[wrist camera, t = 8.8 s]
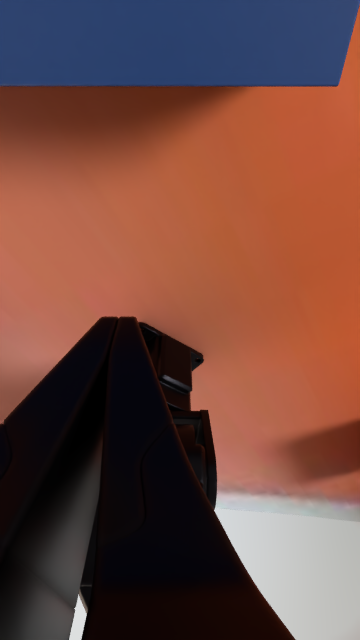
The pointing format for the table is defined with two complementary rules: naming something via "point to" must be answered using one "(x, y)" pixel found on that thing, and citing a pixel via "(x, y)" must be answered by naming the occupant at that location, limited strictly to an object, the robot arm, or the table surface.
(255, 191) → the table surface
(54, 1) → the lid
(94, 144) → the table surface
